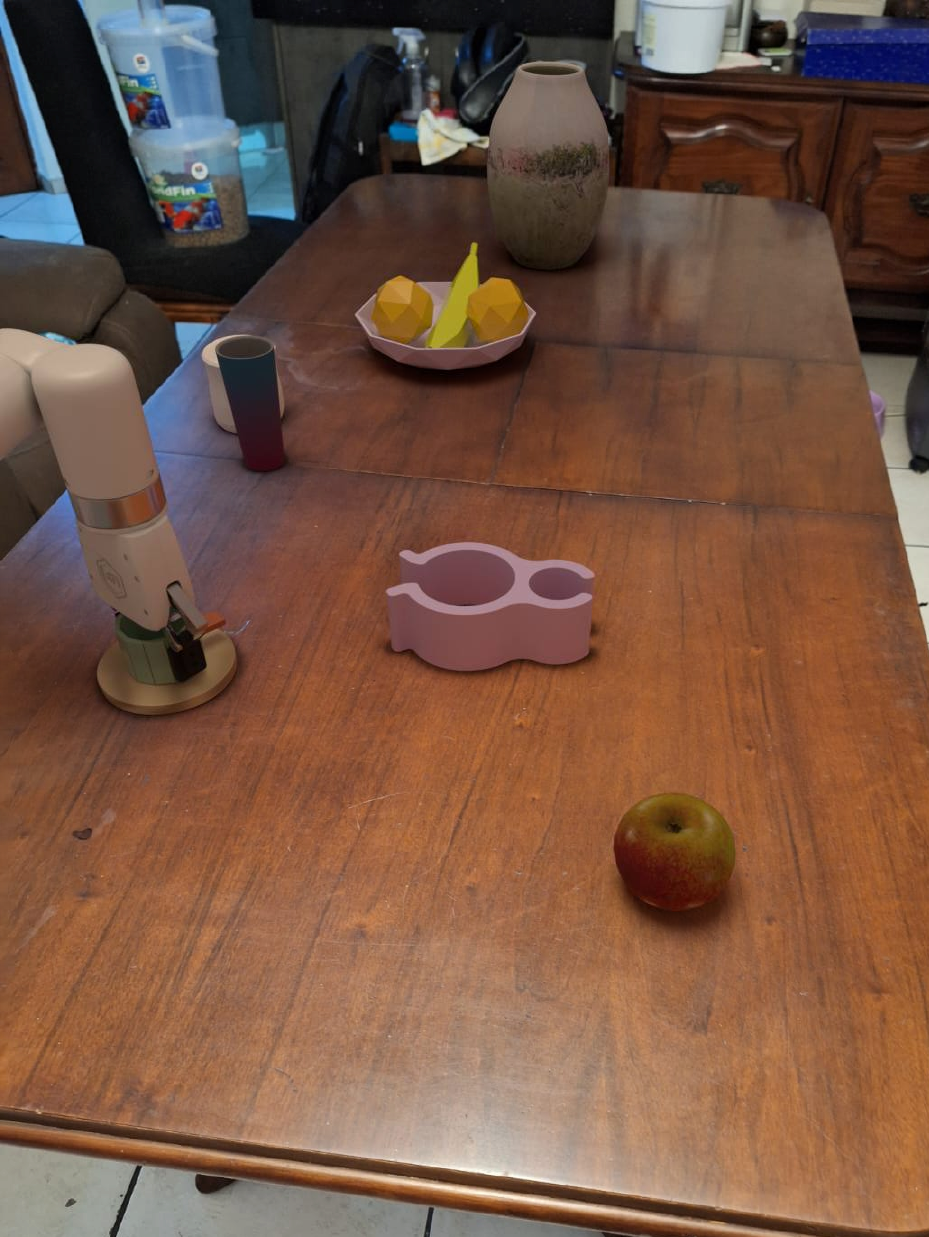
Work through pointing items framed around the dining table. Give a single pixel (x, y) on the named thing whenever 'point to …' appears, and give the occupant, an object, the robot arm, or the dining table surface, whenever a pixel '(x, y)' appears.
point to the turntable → (168, 696)
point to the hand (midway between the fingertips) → (165, 655)
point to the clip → (489, 607)
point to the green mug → (153, 647)
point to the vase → (548, 165)
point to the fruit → (674, 851)
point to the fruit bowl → (447, 319)
